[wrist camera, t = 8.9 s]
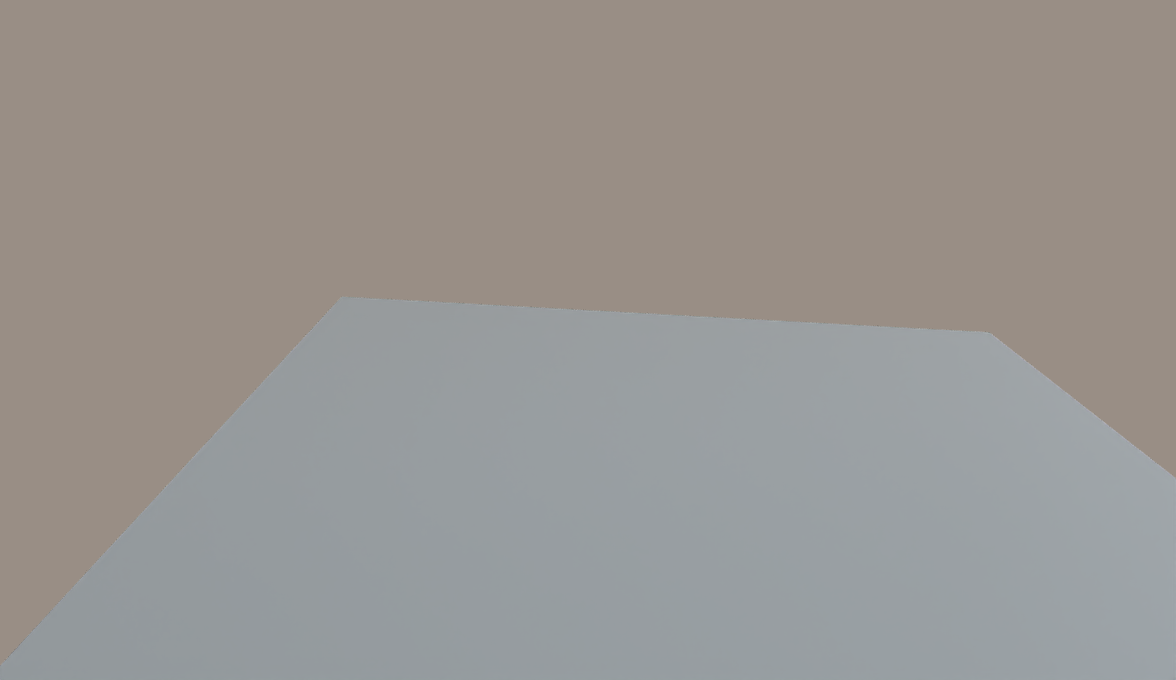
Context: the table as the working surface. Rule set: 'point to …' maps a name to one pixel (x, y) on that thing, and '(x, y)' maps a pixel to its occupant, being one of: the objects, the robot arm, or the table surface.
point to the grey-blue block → (636, 513)
